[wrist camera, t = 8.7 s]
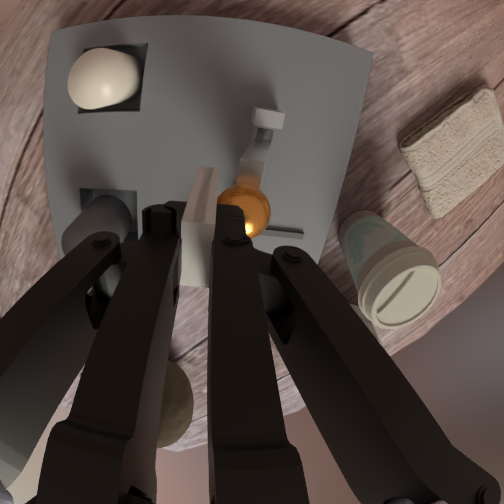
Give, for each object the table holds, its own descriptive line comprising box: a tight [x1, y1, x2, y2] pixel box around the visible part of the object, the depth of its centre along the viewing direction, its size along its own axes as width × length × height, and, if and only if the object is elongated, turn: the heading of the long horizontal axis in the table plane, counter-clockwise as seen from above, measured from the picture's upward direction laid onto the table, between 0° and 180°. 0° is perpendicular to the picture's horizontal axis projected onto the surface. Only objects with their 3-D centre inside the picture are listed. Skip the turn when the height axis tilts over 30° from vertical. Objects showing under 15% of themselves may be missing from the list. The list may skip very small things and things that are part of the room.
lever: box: [217, 128, 274, 239], centre depth 17 cm, size 3×6×10 cm, turn 171°
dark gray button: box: [61, 195, 132, 255], centre depth 22 cm, size 5×5×6 cm
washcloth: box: [399, 84, 504, 219], centre depth 25 cm, size 12×18×3 cm, turn 131°
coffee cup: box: [338, 210, 442, 329], centre depth 27 cm, size 8×8×12 cm
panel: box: [43, 15, 373, 265], centre depth 22 cm, size 28×24×7 cm
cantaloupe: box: [157, 360, 194, 448], centre depth 37 cm, size 14×14×15 cm
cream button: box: [67, 48, 144, 109], centre depth 17 cm, size 5×5×6 cm
